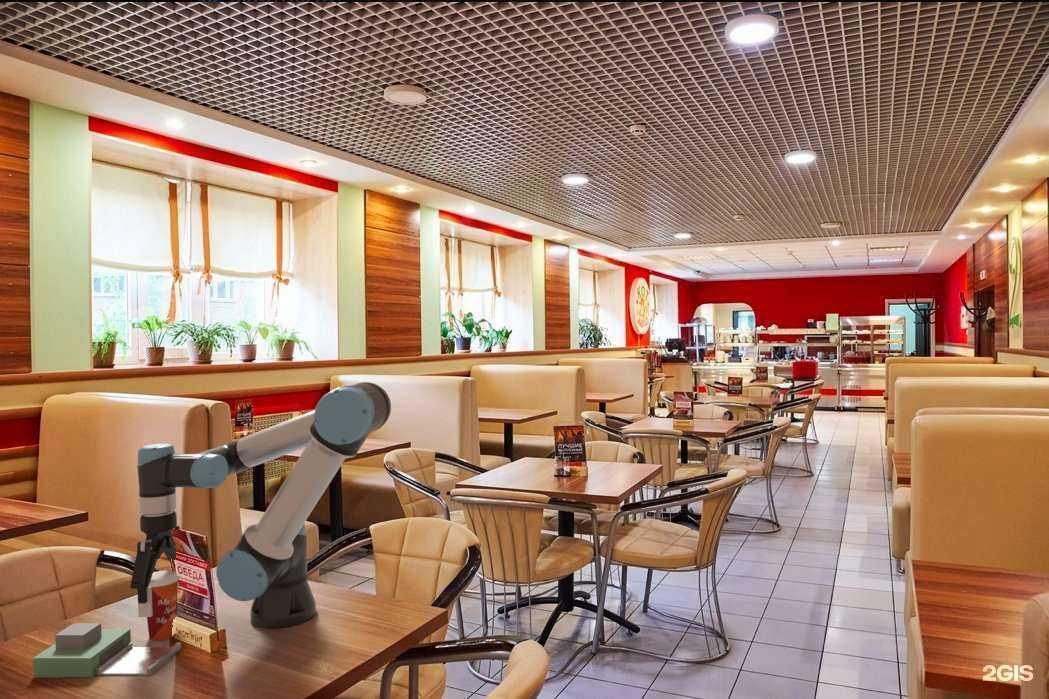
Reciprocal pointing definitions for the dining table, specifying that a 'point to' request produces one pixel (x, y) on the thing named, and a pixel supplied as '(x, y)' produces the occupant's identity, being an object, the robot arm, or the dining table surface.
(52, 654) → the stepped green box
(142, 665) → the plate
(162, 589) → the paper cup
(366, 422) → the robot arm
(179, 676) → the dining table surface
